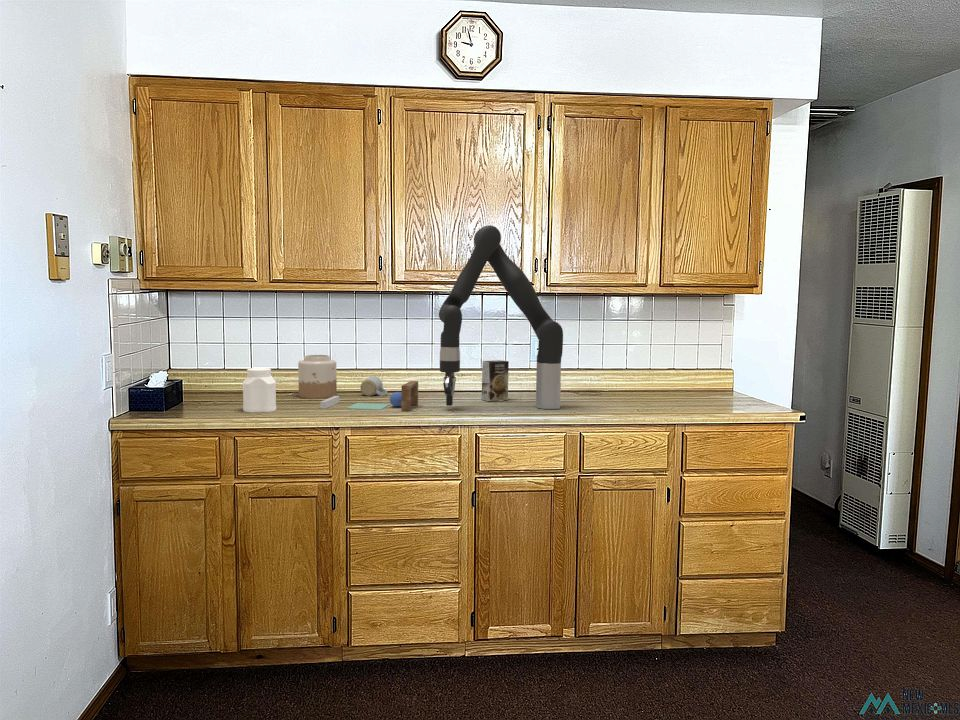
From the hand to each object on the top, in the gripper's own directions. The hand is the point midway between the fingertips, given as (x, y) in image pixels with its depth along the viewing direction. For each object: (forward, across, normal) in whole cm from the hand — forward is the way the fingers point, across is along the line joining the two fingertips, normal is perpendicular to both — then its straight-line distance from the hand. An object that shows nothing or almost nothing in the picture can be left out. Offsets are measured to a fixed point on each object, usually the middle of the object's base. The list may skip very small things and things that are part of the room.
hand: (449, 405), depth 276 cm
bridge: (+2, 0, +15) cm, 15 cm away
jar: (+2, -16, +67) cm, 69 cm away
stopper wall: (+2, 0, +46) cm, 46 cm away
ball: (-1, +2, +20) cm, 21 cm away
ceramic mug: (+2, +30, +37) cm, 48 cm away
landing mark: (+2, 0, +31) cm, 31 cm away
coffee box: (+2, +26, -14) cm, 30 cm away
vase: (+2, +22, +59) cm, 63 cm away
